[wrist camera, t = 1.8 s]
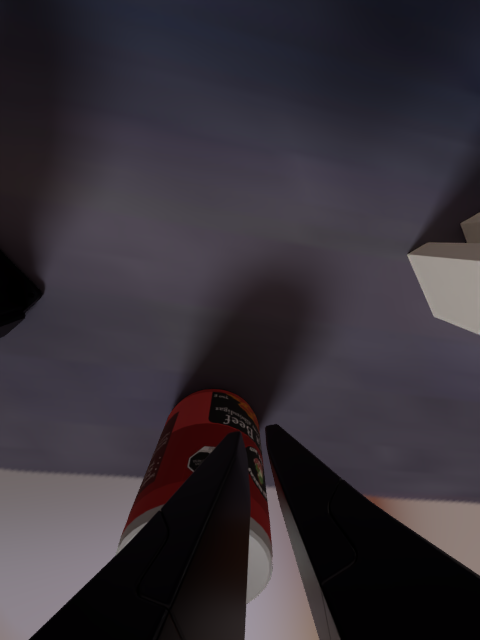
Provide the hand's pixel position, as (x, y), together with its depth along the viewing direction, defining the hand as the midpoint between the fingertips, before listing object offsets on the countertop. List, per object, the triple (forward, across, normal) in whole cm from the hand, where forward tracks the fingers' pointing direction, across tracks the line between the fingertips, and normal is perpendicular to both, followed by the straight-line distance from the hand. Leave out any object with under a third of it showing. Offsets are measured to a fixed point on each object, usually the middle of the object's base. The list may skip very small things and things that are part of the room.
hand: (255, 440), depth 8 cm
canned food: (+13, -5, -9) cm, 17 cm away
